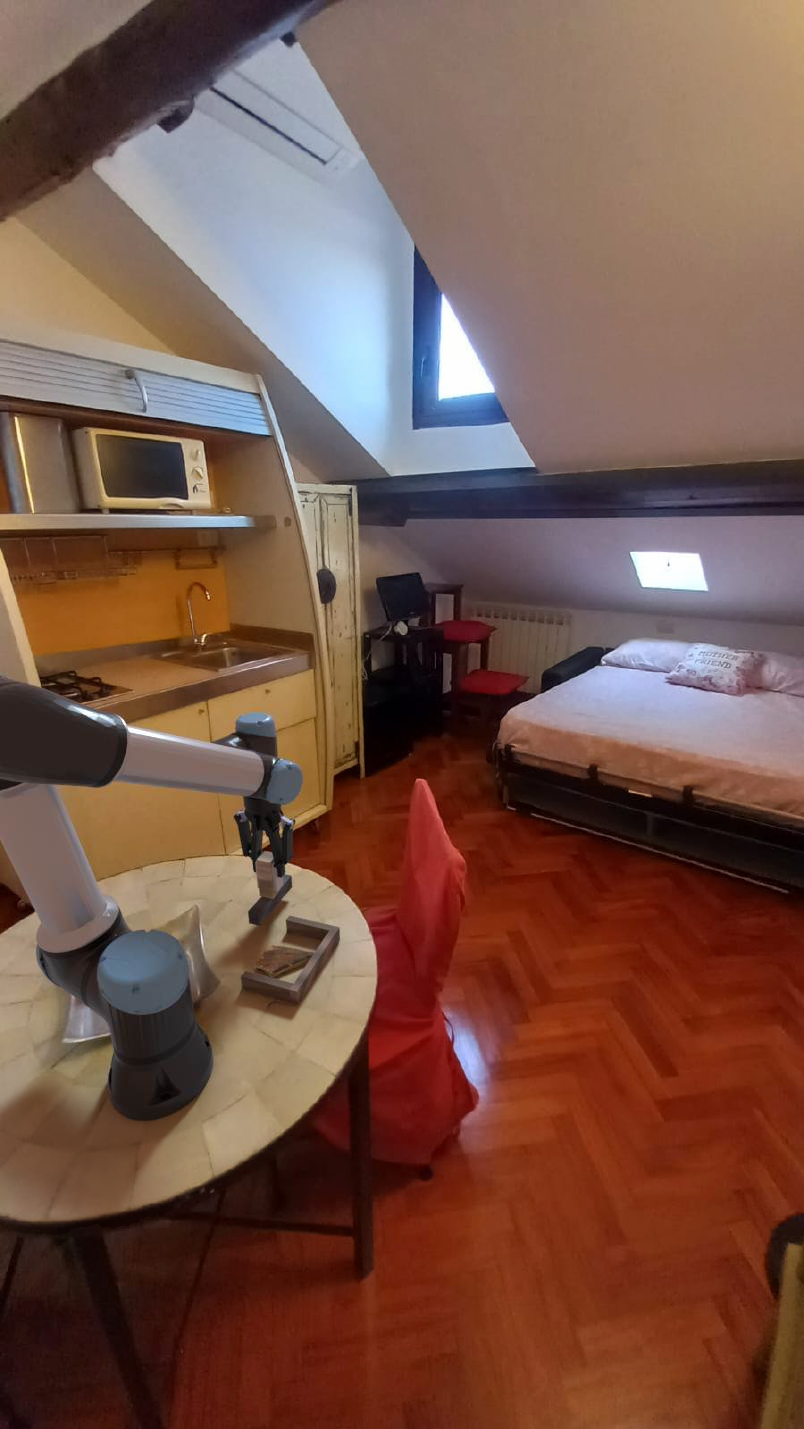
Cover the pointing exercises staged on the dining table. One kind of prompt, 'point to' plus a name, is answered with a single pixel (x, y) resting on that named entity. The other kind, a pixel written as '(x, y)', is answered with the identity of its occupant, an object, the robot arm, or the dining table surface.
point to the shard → (282, 959)
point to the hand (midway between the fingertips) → (270, 886)
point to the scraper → (267, 890)
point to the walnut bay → (310, 971)
